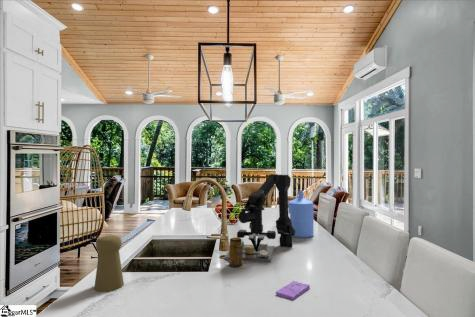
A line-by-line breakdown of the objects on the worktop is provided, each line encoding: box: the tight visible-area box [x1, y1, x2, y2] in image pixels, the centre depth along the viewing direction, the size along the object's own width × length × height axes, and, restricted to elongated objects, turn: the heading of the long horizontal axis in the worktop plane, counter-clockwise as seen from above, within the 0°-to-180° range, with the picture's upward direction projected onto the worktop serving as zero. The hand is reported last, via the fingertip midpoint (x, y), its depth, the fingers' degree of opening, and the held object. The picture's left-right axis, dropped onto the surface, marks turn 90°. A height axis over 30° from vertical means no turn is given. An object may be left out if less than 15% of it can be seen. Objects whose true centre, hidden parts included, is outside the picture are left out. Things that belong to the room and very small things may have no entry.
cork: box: [93, 234, 125, 293], centre depth 119 cm, size 10×10×19 cm
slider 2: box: [259, 242, 269, 250], centre depth 160 cm, size 4×3×3 cm
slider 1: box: [245, 246, 254, 254], centre depth 155 cm, size 4×3×3 cm
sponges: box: [275, 280, 311, 301], centre depth 113 cm, size 7×13×2 cm, turn 140°
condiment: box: [225, 237, 247, 269], centre depth 142 cm, size 7×8×12 cm
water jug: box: [288, 190, 315, 239], centre depth 198 cm, size 16×16×28 cm
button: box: [259, 250, 268, 257], centre depth 148 cm, size 4×4×2 cm
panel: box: [224, 241, 276, 263], centre depth 158 cm, size 22×23×4 cm
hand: (256, 251), depth 154 cm, fingers closed
